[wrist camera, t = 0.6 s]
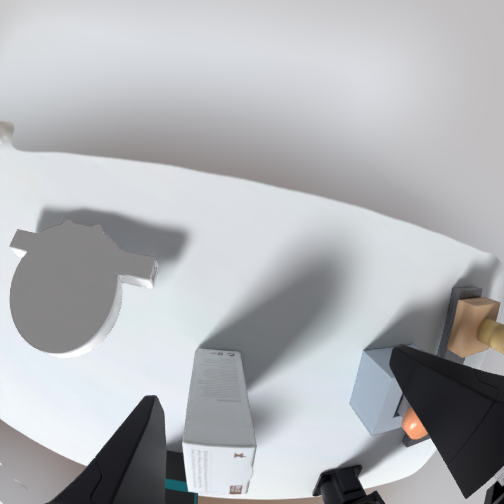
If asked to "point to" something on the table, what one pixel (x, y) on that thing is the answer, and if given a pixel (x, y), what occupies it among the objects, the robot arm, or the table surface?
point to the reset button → (411, 421)
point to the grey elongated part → (72, 286)
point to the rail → (443, 351)
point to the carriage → (476, 327)
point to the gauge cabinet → (377, 392)
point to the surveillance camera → (177, 481)
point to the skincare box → (218, 425)
